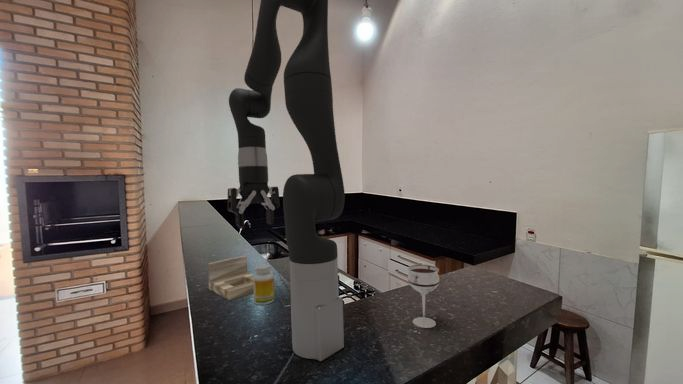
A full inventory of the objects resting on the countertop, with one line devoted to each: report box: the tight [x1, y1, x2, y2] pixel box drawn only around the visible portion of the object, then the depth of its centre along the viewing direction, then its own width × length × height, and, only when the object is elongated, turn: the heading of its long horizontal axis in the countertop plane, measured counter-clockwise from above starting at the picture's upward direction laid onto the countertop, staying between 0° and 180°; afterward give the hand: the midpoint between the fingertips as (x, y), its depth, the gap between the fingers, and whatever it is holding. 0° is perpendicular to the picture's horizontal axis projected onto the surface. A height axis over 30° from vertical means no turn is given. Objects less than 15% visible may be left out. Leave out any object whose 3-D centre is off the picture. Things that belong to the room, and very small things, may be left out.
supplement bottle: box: [253, 263, 275, 306], centre depth 80 cm, size 5×5×10 cm
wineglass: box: [407, 264, 440, 329], centre depth 65 cm, size 7×7×12 cm
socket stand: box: [207, 255, 255, 301], centre depth 90 cm, size 14×12×8 cm
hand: (256, 226), depth 80 cm, fingers open, 8 cm apart
